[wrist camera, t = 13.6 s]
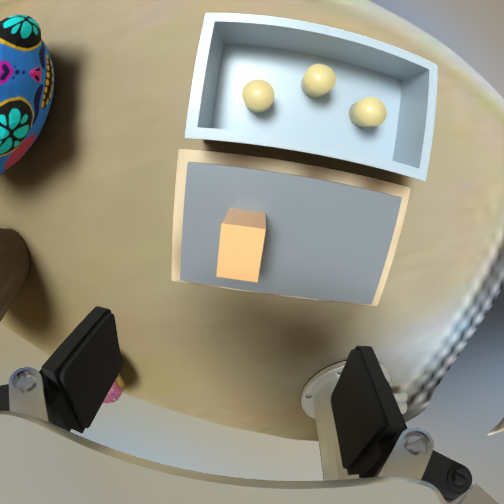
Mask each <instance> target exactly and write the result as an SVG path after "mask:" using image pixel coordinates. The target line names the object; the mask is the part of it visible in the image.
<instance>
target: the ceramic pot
mask: <svg viewBox="0 0 504 504" xmlns="http://www.w3.org/2000/svg"><path fill="white" fill-rule="evenodd" d="M53 90H54V68H53V63H52V60H51V57H50V54H49V52H48V50H47V47H46V45H45V44H44V42H43V41H42V39H41V31H40V27H39V25H38V23H37V22H36V21H35V20H34V19H32V18H31V17H29V16H26V15H14V16H11V17H8V18H6V19H4V20H2V21H0V175H1V174H2V173H4V172H5V171H6V170H7V169H8V168H10V167H11V166H12V165H13V164H15V163H16V162H17V161H19V160H20V159H21V158H22V157H23V155H24V154H25V153H26V152H27V151H28V149H29V148H30V147H31V146H32V144H33V143H34V142H35V140H36V139H37V137H38V135H39V133H40V131H41V129H42V127H43V125H44V123H45V120H46V118H47V115H48V112H49V109H50V106H51V102H52V97H53Z"/></svg>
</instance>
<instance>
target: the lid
mask: <svg viewBox="0 0 504 504" xmlns="http://www.w3.org/2000/svg"><path fill="white" fill-rule="evenodd" d="M401 200H402V197H399V196H395V195H391V194H387V193H383V192H379V191H374V190H370V189H366V188H361V187H357V186H352V185H347V184H342V183H337V182H332V181H327V180H322V179H316V178H311V177H305V176H299V175H293V174H287V173H281V172H274V171H267V170H260V169H253V168H245V167H237V166H229V165H220V164H210V163H200V162H188V163H187V174H186V185H185V197H184V210H183V226H182V244H181V269H180V281H187V282H193V283H199V284H206V285H213V286H219V287H226V288H233V289H240V290H247V291H255V292H262V293H270V294H278V295H286V296H294V297H302V298H311V299H320V300H329V301H339V302H348V303H359V304H369V305H372V302H373V299H374V296H375V293H376V290H377V287H378V284H379V281H380V278H381V275H382V272H383V269H384V265H385V262H386V259H387V255H388V252H389V248H390V245H391V241H392V237H393V233H394V230H395V226H396V222H397V218H398V213H399V209H400V205H401Z"/></svg>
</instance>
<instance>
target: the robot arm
mask: <svg viewBox="0 0 504 504" xmlns="http://www.w3.org/2000/svg"><path fill="white" fill-rule="evenodd" d="M121 369H122V360H121V354H120V349H119V343H118V337H117V330H116V324H115V317H114V314H112V313H111V311H110V310H109V309H106V308H102V307H98V306H97V307H95V308H94V309H93V310H92V311H91V312H90V313H89V314H88V315H87V316H86V317H85V319H84V320H83V321H82V322H81V323H80V324H79V325H78V326H77V327H76V328H75V329H74V331H73V332H72V333H71V334H70V335H69V336H68V337H67V338H66V339H65V341H64V342H63V343H62V344H61V345H60V346H59V347H58V348H57V350H56V351H55V352H54V353H53V354H52V355H51V357H50V358H49V359H48V360H47V361H46V362H45V364H44V365H43V366H42V369H41V370H40V371H39V372H38V371H37V370H36V369H34V368H30V367H24V368H20V369H18V370H16V371H15V372H14V373H13V374H12V375H11V377H10V379H9V384H7V385H2V386H0V504H498V503H497V502H496V501H495V500H494V499H493V498H492V497H491V496H490V495H488V494H487V493H486V492H485V491H484V490H483V489H482V488H481V487H480V486H479V485H477V484H474V485H472V475H471V473H470V471H469V470H468V468H466V467H465V466H463V465H462V464H459V463H457V462H455V461H453V460H451V459H449V458H447V457H446V456H444V455H442V454H440V453H438V452H436V451H434V450H433V448H434V443H433V439H432V437H431V436H430V434H429V433H428V432H426V431H425V430H423V429H420V428H416V427H412V428H408V429H407V426H406V424H405V421H404V419H403V416H402V414H405V413H406V411H407V403H406V402H405V401H406V400H407V393H397V394H394V393H393V392H392V389H391V383H392V382H391V376H390V374H389V371H388V370H387V368H386V367H385V366H384V365H383V364H381V363H380V362H378V360H377V357H376V355H375V353H374V351H373V349H372V347H370V346H357V347H356V348H355V349H352V350H351V352H350V354H349V356H348V359H347V361H343V362H339V363H337V364H334V365H331V366H329V367H327V368H326V369H324V370H322V371H320V372H319V373H318V374H316V375H315V376H314V377H313V378H311V379H310V380H309V381H308V383H307V384H306V385H305V387H304V389H303V391H302V395H301V403H302V408H303V410H304V411H305V413H306V414H307V415H308V416H310V417H311V418H313V419H315V420H316V425H317V432H318V440H319V447H320V455H321V462H322V470H323V479H324V481H271V480H256V479H245V478H235V477H227V476H220V475H213V474H207V473H201V472H196V471H191V470H186V469H181V468H176V467H172V466H168V465H163V464H160V463H156V462H152V461H149V460H145V459H142V458H138V457H135V456H132V455H129V454H126V453H122V452H120V451H117V450H114V449H111V448H109V447H106V446H103V445H101V444H98V443H95V442H93V441H90V440H88V439H85V438H83V437H80V436H78V435H76V434H73V433H71V432H70V430H71V429H74V430H76V431H78V432H80V433H83V431H84V429H85V428H88V427H89V426H90V425H91V423H92V421H93V419H94V417H95V416H96V414H97V412H98V410H99V408H100V406H101V405H102V403H103V401H104V399H105V398H106V396H107V394H108V392H109V390H110V389H111V387H112V385H113V383H114V382H115V380H116V378H117V377H118V375H119V373H120V371H121Z"/></svg>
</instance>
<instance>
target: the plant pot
mask: <svg viewBox="0 0 504 504" xmlns="http://www.w3.org/2000/svg"><path fill="white" fill-rule="evenodd" d="M29 270H30V259H29V254H28V251H27V248H26V245H25V243H24V241H23V240H22V238H21V237H20V236H19V234H18V233H16V232H15V231H13V230H11V229H2V228H0V321H1V320H2V318H3V316H4V315H5V313H6V312H7V310H8V309H9V307H10V305H11V304H12V302H13V300H14V299H15V297H16V295H17V294H18V292H19V290H20V289H21V287H22V285H23V283H24V281H25V279H26V278H27V276H28V274H29Z"/></svg>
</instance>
